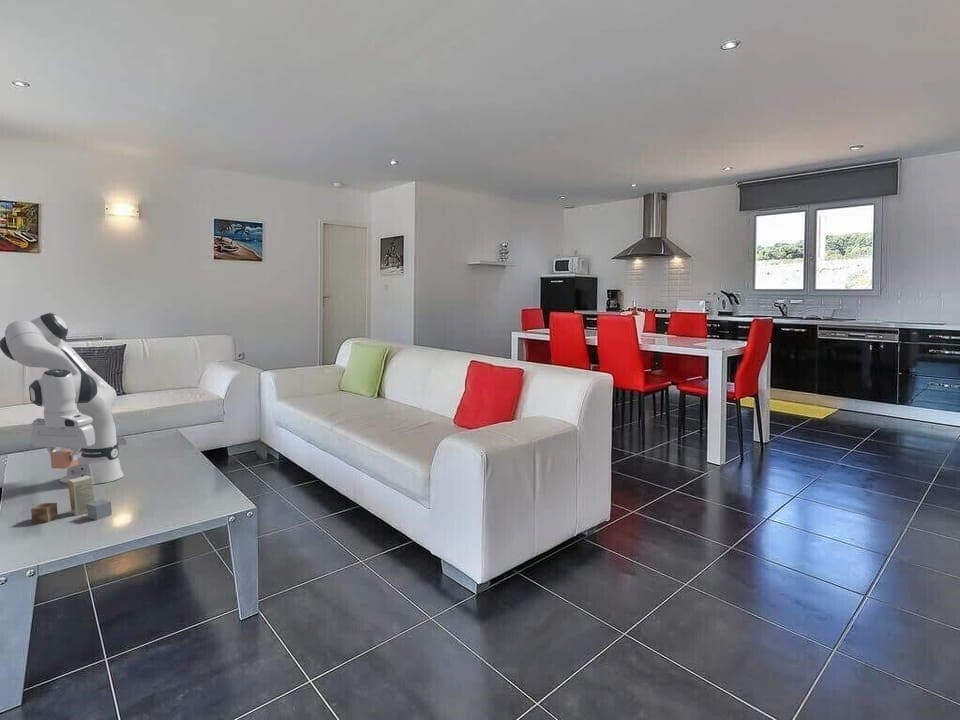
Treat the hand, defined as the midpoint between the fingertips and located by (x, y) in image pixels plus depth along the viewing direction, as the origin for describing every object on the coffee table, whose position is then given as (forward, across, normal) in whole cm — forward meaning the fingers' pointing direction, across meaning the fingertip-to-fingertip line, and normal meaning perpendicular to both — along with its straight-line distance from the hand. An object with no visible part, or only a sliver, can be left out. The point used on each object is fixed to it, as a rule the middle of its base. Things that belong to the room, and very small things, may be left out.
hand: (64, 459), depth 183 cm
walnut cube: (+22, -11, +2) cm, 25 cm away
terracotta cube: (+2, 0, 0) cm, 2 cm away
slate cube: (+22, +5, +7) cm, 24 cm away
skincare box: (+22, -4, +10) cm, 25 cm away
